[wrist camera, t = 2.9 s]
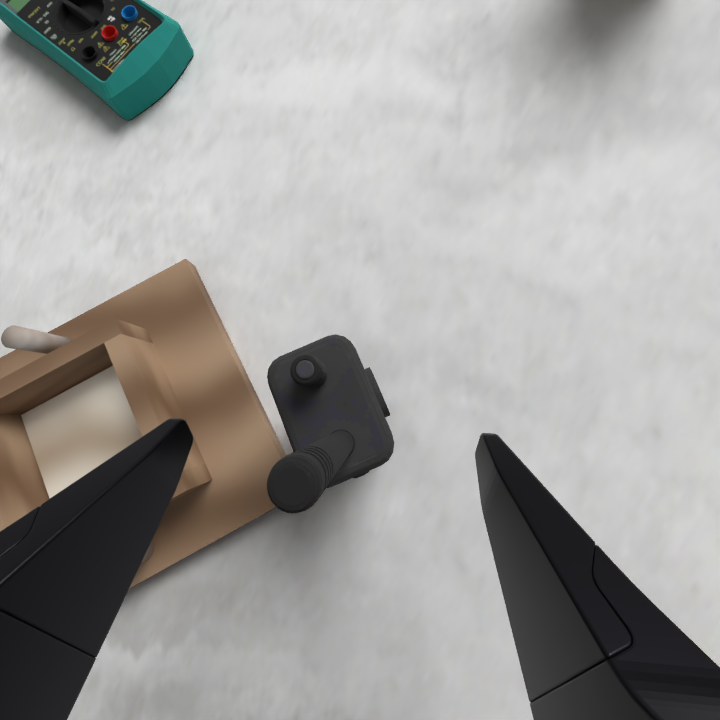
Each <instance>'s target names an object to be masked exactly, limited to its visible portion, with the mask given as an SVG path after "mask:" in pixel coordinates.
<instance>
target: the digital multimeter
mask: <svg viewBox="0 0 720 720" xmlns="http://www.w3.org/2000/svg"><path fill="white" fill-rule="evenodd" d="M59 1H60V0H0V19H1V20H2V21H3V22H4V23H5V24H6V25H7V26H8V27H9V28H10V29H11V30H12V31H13V32H15V33H16V34H17V35H19V36H20V37H22V38H23V39H25V40H26V41H27V42H29V43H30V44H32V45H33V46H35V47H36V48H37V49H39V50H40V51H42V52H43V53H45V54H46V55H47V56H49V57H50V58H51V59H53V60H54V61H55V62H56V63H58V64H59V65H60V66H62V67H63V68H64V69H66V70H67V71H68V72H70V73H71V74H72V75H73V76H75V77H76V78H77V79H78V80H79V81H81V82H82V83H83V84H84V85H85V86H86V87H88V88H89V89H90V90H91V91H92V92H94V93H95V94H96V95H97V96H98V97H100V98H101V99H102V100H103V101H104V102H105V103H106V104H107V105H109V106H110V107H111V108H112V109H113V110H114V111H115V112H116V113H118V114H119V115H120V116H121V117H122V118H123V119H125V120H131V119H133V118H134V117H136V116H137V115H138V114H140V113H141V112H143V111H144V110H146V109H147V108H148V107H149V106H151V105H152V104H153V103H154V102H156V101H157V100H158V99H159V98H161V97H162V96H163V95H164V94H165V93H166V92H167V91H168V90H169V89H170V87H171V86H172V85H173V84H174V83H175V82H176V80H177V79H178V77H179V76H180V75H181V73H182V72H183V70H184V69H185V67H186V66H187V64H188V63H189V61H190V59H191V58H192V56H193V49H192V48H191V46H190V44H189V42H188V40H187V38H186V36H185V34H184V32H183V31H182V29H181V27H180V25H179V24H178V22H176V21H174V20H173V19H171V18H170V17H168V16H166V15H165V14H163V13H161V12H160V11H158V10H156V9H155V8H153V7H151V6H150V5H148V4H147V3H145V2H144V1H142V0H61V1H60V2H59ZM57 4H58V5H57ZM54 10H55V11H54ZM26 22H27V23H26ZM31 26H32V27H31ZM35 29H36V30H35ZM63 32H64V33H63ZM40 33H41V34H40ZM44 36H45V37H44ZM49 40H50V41H49ZM53 43H54V44H53ZM58 47H59V48H58ZM62 50H63V51H62ZM67 54H68V55H67ZM71 57H72V58H71ZM76 61H77V62H76ZM80 64H81V65H80ZM85 68H86V69H85ZM89 71H90V72H89ZM94 75H95V76H94ZM98 78H99V79H98Z"/></svg>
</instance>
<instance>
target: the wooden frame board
mask: <svg viewBox="0 0 720 720" xmlns="http://www.w3.org/2000/svg"><path fill="white" fill-rule="evenodd" d="M1 341H2V344H3V345H4V346H5V347H8V348H13V349H16V350H14V351H12V352H11V353H9V354H7V355H5V356H3V357H1V358H0V531H1V530H3V529H5V528H6V527H8V526H9V525H11V524H12V523H14V522H15V521H17V520H18V519H20V518H21V517H23V516H24V515H26V514H27V513H29V512H30V511H32V510H33V509H35V508H36V507H38V506H41V504H42V503H44V502H45V501H47V500H48V499H50V498H51V497H53V496H54V495H56V494H57V493H59V492H60V491H62V490H63V489H65V488H66V487H68V486H69V485H71V484H72V483H74V482H75V481H77V480H78V479H80V478H81V477H83V476H84V475H86V474H87V473H89V472H90V471H92V470H93V469H95V468H96V467H98V466H99V465H101V464H102V463H104V462H105V461H107V460H108V459H110V458H111V457H113V456H114V455H116V454H117V453H119V452H120V451H122V450H123V449H125V448H126V447H127V446H129V445H130V444H132V443H133V442H135V441H136V440H138V439H139V438H141V437H142V436H144V435H145V434H147V433H148V432H150V431H151V430H153V429H154V428H156V427H157V426H159V425H160V424H162V423H163V422H165V421H166V420H168V419H170V418H182V419H184V420H185V421H186V422H187V424H188V426H189V428H190V430H191V432H192V435H193V444H192V447H191V450H190V453H189V455H188V458H187V461H186V464H185V467H184V469H183V472H182V475H181V478H180V481H179V483H178V486H177V488H176V491H175V493H174V495H173V497H172V499H171V502H170V504H169V506H168V508H167V510H166V512H165V514H164V516H163V518H162V520H161V523H160V525H159V527H158V529H157V531H156V533H155V535H154V537H153V539H152V541H151V544H150V546H149V548H148V550H147V552H146V554H145V556H144V558H143V560H142V563H141V565H140V567H139V569H138V571H137V573H136V575H135V577H134V579H133V581H132V584H131V586H130V588H131V587H133V586H135V585H136V584H138V583H140V582H142V581H144V580H145V579H147V578H149V577H151V576H153V575H154V574H156V573H158V572H160V571H162V570H163V569H165V568H167V567H169V566H171V565H173V564H174V563H176V562H178V561H180V560H182V559H183V558H185V557H187V556H189V555H191V554H192V553H194V552H196V551H198V550H200V549H201V548H203V547H205V546H207V545H209V544H210V543H212V542H214V541H216V540H218V539H219V538H221V537H223V536H225V535H227V534H228V533H230V532H232V531H234V530H236V529H237V528H239V527H241V526H243V525H245V524H247V523H248V522H250V521H252V520H254V519H256V518H257V517H259V516H261V515H263V514H265V513H266V512H268V511H270V510H272V509H274V508H275V507H276V506H275V505H274V504H273V503H272V501H271V500H270V498H269V495H268V492H267V479H268V476H269V473H270V471H271V469H272V467H273V466H274V465H275V464H276V462H278V461H279V460H280V459H282V458H283V457H285V456H286V454H285V452H284V450H283V448H282V446H281V444H280V442H279V440H278V438H277V436H276V433H275V431H274V429H273V427H272V425H271V423H270V421H269V419H268V417H267V415H266V413H265V411H264V409H263V407H262V404H261V402H260V400H259V398H258V396H257V394H256V392H255V390H254V388H253V386H252V384H251V382H250V380H249V377H248V375H247V373H246V371H245V369H244V367H243V365H242V363H241V361H240V359H239V357H238V355H237V353H236V351H235V348H234V346H233V344H232V342H231V340H230V338H229V336H228V334H227V332H226V330H225V328H224V326H223V324H222V321H221V319H220V317H219V315H218V313H217V311H216V309H215V307H214V305H213V303H212V301H211V299H210V297H209V295H208V292H207V290H206V288H205V286H204V284H203V282H202V280H201V278H200V276H199V274H198V272H197V270H196V268H195V266H194V265H193V264H192V263H191V262H189V261H188V260H187V259H184V260H182V261H180V262H179V263H177V264H175V265H173V266H171V267H169V268H167V269H166V270H164V271H162V272H160V273H158V274H156V275H154V276H152V277H151V278H149V279H147V280H145V281H143V282H141V283H139V284H138V285H136V286H134V287H132V288H130V289H128V290H126V291H124V292H123V293H121V294H119V295H117V296H115V297H113V298H111V299H110V300H108V301H106V302H104V303H102V304H100V305H98V306H96V307H95V308H93V309H91V310H89V311H87V312H85V313H83V314H81V315H80V316H78V317H76V318H74V319H72V320H70V321H68V322H67V323H65V324H63V325H61V326H59V327H57V328H55V329H53V330H52V331H50V332H48V333H45V332H40V331H36V330H32V329H27V328H23V327H19V326H10V327H8V328H7V329H5V330H4V332H3V334H2V337H1Z"/></svg>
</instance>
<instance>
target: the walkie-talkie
mask: <svg viewBox="0 0 720 720" xmlns="http://www.w3.org/2000/svg"><path fill="white" fill-rule="evenodd" d="M267 378H268V384H269V387H270V390H271V392H272V395H273V398H274V400H275V403H276V406H277V408H278V411H279V414H280V416H281V419H282V422H283V424H284V427H285V430H286V432H287V435H288V438H289V440H290V443H291V446H292V448H293V451H294V452H293V453H291V454H289V455H287V456H285V457H283V458H282V459H280V460H279V461H278V462H276V464H275V465H274V466H273V467H272V469H271V471H270V473H269V476H268V479H267V492H268V495H269V498H270V500H271V501H272V503H273V504H274V505H275V506H276V507H277V508H278V509H280V510H282V511H284V512H287V513H299V512H302V511H305V510H307V509H309V508H310V507H311V506H313V505H314V504H315V502H316V501H317V500H318V498H319V497H320V496H321V494H322V493H323V491H324V490H325V488H329V487H332V486H335V485H337V484H339V483H342V482H344V481H346V480H348V479H351V478H358V477H360V476H363V475H365V474H366V473H368V472H369V470H372V469H374V468H376V467H379V466H381V465H383V464H384V463H385V462H387V461H388V460H389V458H390V457H391V455H392V453H393V448H394V440H393V436H392V433H391V430H390V428H389V426H388V423H387V421H386V419H385V417H387V416H389V415H390V413H389V410H388V408H387V405H386V403H385V401H384V398H383V396H382V394H381V391H380V389H379V387H378V384H377V382H376V380H375V378H374V375H373V373H372V371H371V369H370V367H369V368H367V369H364V368H363V365H362V363H361V361H360V358H359V356H358V354H357V351H356V349H355V347H354V346H353V344H352V343H351V341H349V340H348V339H346V338H345V337H344V336H339V335H331V336H327V337H324V338H322V339H320V340H317V341H315V342H313V343H310V344H308V345H306V346H303V347H301V348H299V349H296V350H294V351H292V352H289V353H287V354H285V355H283V356H280V357H278V358H277V359H276V360H274V361H273V362H272V364H271V365H270V367H269V369H268V375H267Z"/></svg>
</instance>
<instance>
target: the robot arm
mask: <svg viewBox="0 0 720 720" xmlns="http://www.w3.org/2000/svg"><path fill="white" fill-rule="evenodd" d="M192 444H193V435H192V432H191V430H190V428H189V426H188V424H187V422H186V421H185V420H184V419H182V418H170V419H168V420H166V421H165V422H163V423H162V424H160V425H159V426H157V427H156V428H154V429H153V430H151V431H150V432H148V433H147V434H145V435H144V436H142V437H141V438H139V439H138V440H136V441H135V442H133V443H132V444H130V445H129V446H127V447H126V448H125V449H123V450H122V451H120V452H119V453H117V454H116V455H114V456H113V457H111V458H110V459H108V460H107V461H105V462H104V463H102V464H101V465H99V466H98V467H96V468H95V469H93V470H92V471H90V472H89V473H87V474H86V475H84V476H83V477H81V478H80V479H78V480H77V481H75V482H74V483H72V484H71V485H69V486H68V487H66V488H65V489H63V490H62V491H60V492H59V493H57V494H56V495H54V496H53V497H51V498H50V499H48V500H47V501H45V502H44V503H42V504H41V506H38V507H36V508H35V509H33V510H32V511H30V512H29V513H27V514H26V515H24V516H23V517H21V518H20V519H18V520H17V521H15V522H14V523H12V524H11V525H9V526H8V527H6V528H5V529H3V530H1V531H0V720H67V718H68V716H69V714H70V712H71V710H72V708H73V706H74V704H75V702H76V700H77V697H78V695H79V693H80V691H81V689H82V687H83V685H84V683H85V681H86V679H87V676H88V674H89V672H90V670H91V668H92V666H93V664H94V662H95V660H96V658H95V657H97V655H98V653H99V651H100V649H101V647H102V644H103V642H104V640H105V638H106V636H107V634H108V632H109V630H110V628H111V626H112V623H113V621H114V619H115V617H116V615H117V613H118V611H119V609H120V607H121V605H122V602H123V600H124V598H125V596H126V594H127V592H128V590H129V588H130V586H131V584H132V581H133V579H134V577H135V575H136V573H137V571H138V569H139V567H140V565H141V563H142V560H143V558H144V556H145V554H146V552H147V550H148V548H149V546H150V544H151V541H152V539H153V537H154V535H155V533H156V531H157V529H158V527H159V525H160V523H161V520H162V518H163V516H164V514H165V512H166V510H167V508H168V506H169V504H170V502H171V499H172V497H173V495H174V493H175V491H176V488H177V486H178V483H179V481H180V478H181V475H182V472H183V469H184V467H185V464H186V461H187V458H188V455H189V453H190V450H191V447H192ZM475 459H476V467H477V474H478V482H479V490H480V498H481V505H482V510H483V515H484V519H485V523H486V527H487V532H488V536H489V540H490V544H491V548H492V552H493V556H494V560H495V564H496V568H497V572H498V576H499V580H500V584H501V588H502V592H503V596H504V600H505V604H506V608H507V612H508V616H509V621H510V625H511V629H512V633H513V637H514V641H515V645H516V649H517V653H518V657H519V661H520V665H521V669H522V673H523V677H524V681H525V685H526V689H527V693H528V697H529V701H530V702H531V703H530V706H531V710H532V714H533V718H534V720H720V667H719V666H718V665H717V664H716V663H714V662H713V661H712V660H711V659H710V658H709V657H708V656H707V655H706V654H705V653H704V652H703V651H702V650H701V649H700V648H699V647H698V646H697V645H696V644H695V643H694V642H693V641H692V640H691V639H690V638H689V637H687V636H686V635H685V634H684V633H683V632H682V631H681V630H680V629H679V628H678V627H677V626H676V625H675V624H674V623H673V622H672V621H671V620H670V619H669V618H668V617H667V616H666V615H665V614H664V613H663V612H662V611H660V610H659V609H658V608H657V607H656V606H655V605H654V604H653V603H652V602H651V601H650V600H649V599H648V598H647V597H646V596H645V595H644V594H643V593H642V592H641V591H640V590H639V589H638V588H637V587H636V586H635V585H634V584H633V583H632V582H631V581H630V580H629V579H628V577H627V576H626V575H625V574H624V573H623V572H622V571H621V570H620V569H619V568H618V567H617V566H616V565H615V564H614V563H613V562H612V560H611V559H610V558H609V557H608V556H607V555H606V554H605V553H604V552H603V551H602V549H601V548H600V547H599V546H598V545H595V542H594V541H593V540H592V539H591V537H590V536H589V535H588V534H587V533H586V532H585V531H584V530H583V529H582V528H581V526H580V525H579V524H578V523H577V522H576V521H575V520H574V519H573V518H572V517H571V515H570V514H569V513H568V512H567V511H566V510H565V509H564V508H563V507H562V505H561V504H560V503H559V502H558V501H557V500H556V499H555V498H554V497H553V496H552V494H551V493H550V492H549V491H548V490H547V489H546V488H545V487H544V486H543V485H542V483H541V482H540V481H539V480H538V479H537V478H536V477H535V476H534V475H533V473H532V472H531V471H530V470H529V469H528V468H527V467H526V466H525V465H524V464H523V462H522V461H521V460H520V459H519V458H518V457H517V456H516V455H515V454H514V452H513V451H512V450H511V449H510V448H509V447H508V446H507V445H506V444H505V443H504V441H503V440H502V439H501V438H500V437H499V436H498V435H497V434H492V433H483V434H481V436H480V439H479V442H478V445H477V448H476V452H475Z"/></svg>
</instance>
